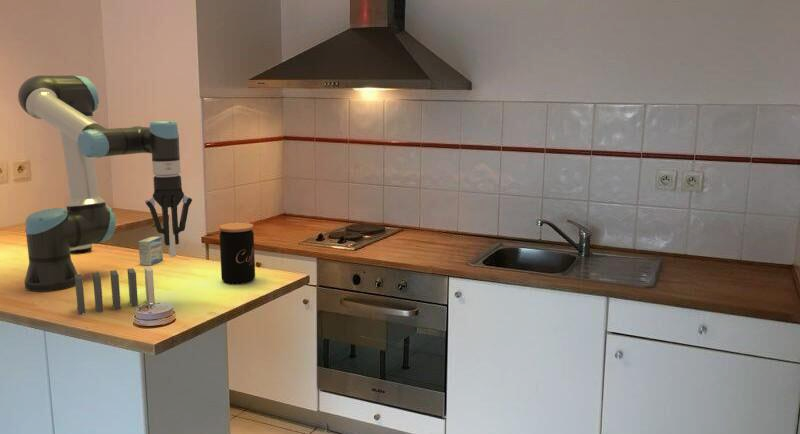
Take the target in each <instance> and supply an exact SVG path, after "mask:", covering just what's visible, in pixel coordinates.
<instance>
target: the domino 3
mask: <svg viewBox="0 0 800 434" xmlns="http://www.w3.org/2000/svg"><path fill="white" fill-rule="evenodd" d="M109 272H110V273H109V274H110V284H111V285H110V286H111V298H112V305H113V308H114V310H121V309H122V302H121V291H120V278H119V273H118V271H117V269H115V270H110V271H109Z"/></svg>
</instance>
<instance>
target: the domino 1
mask: <svg viewBox="0 0 800 434" xmlns="http://www.w3.org/2000/svg"><path fill="white" fill-rule="evenodd" d="M74 286H75V294H76V304H77V305H76V306H77V312H79V313H78V315H84V314H83V313H85V314H86V307H85V306H86V305H85V294H84V280H83V276H82V274H81V273H78V275H75V285H74Z"/></svg>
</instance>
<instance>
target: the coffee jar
mask: <svg viewBox="0 0 800 434" xmlns="http://www.w3.org/2000/svg"><path fill="white" fill-rule="evenodd" d="M253 229H254V224H252V223H249V222H229V223H223V224H221V225H219V231H220V232H219V248H220V249H219V250H220V251H219V252H220V272H221V274H220V275H221V280H222V281H223V283H225V284H227V285H238V286H239V285H245V284H249V283H252V282H253V281H254V279H255V278H256V262H255V261H256V260H255V257H256V256H255V236H254V235H255V234H254V231H253Z"/></svg>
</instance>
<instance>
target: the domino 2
mask: <svg viewBox="0 0 800 434" xmlns="http://www.w3.org/2000/svg"><path fill="white" fill-rule="evenodd" d="M92 281H93V283H92V285H93V294H94V305H95V310H96V312H97V313H99V312H104V303H103V291H102V290H103V289H102V277H101V273H100V272H99V271H97V272H92Z"/></svg>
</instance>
